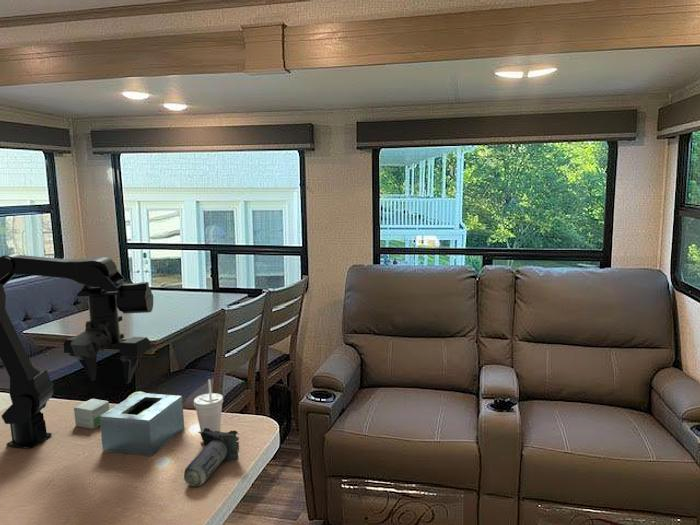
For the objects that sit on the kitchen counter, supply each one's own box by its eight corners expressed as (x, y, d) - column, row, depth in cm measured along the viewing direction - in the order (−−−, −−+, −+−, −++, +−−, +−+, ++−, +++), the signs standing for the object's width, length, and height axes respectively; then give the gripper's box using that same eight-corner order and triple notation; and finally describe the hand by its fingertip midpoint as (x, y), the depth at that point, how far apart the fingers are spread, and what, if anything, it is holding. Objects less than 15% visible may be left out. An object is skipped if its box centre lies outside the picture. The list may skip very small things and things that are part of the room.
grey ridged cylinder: (209, 461, 112) (179, 496, 101) (199, 427, 111) (168, 459, 100) (247, 457, 110) (222, 493, 99) (238, 423, 109) (211, 455, 98)
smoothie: (218, 447, 115) (214, 386, 113) (191, 445, 116) (186, 384, 114) (230, 433, 121) (226, 375, 119) (204, 431, 123) (200, 374, 120)
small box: (93, 429, 126) (90, 410, 125) (74, 426, 128) (72, 407, 127) (111, 419, 131) (109, 400, 130) (93, 416, 133) (91, 397, 132)
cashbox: (102, 451, 115) (99, 416, 114) (139, 424, 127) (136, 392, 126) (152, 456, 112) (148, 420, 111) (184, 428, 125) (181, 395, 124)
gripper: (40, 322, 112) (48, 392, 115) (117, 325, 108) (124, 398, 110) (77, 310, 123) (84, 374, 125) (149, 312, 119) (155, 379, 121)
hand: (110, 381), depth 120 cm, fingers open, 9 cm apart
